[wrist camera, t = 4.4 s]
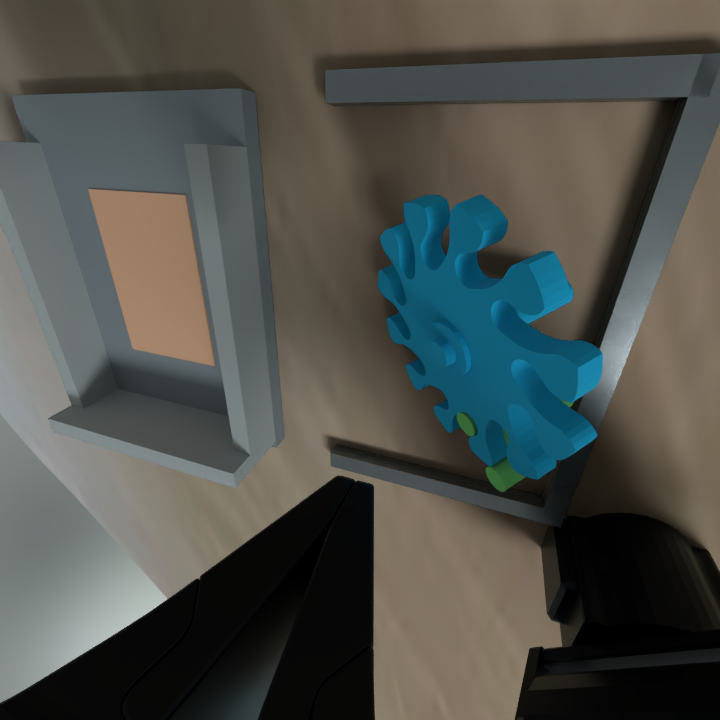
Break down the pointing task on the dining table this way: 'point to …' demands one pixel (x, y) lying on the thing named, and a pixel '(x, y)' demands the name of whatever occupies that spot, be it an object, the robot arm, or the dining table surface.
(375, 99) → the frame
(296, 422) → the dining table surface
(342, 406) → the dining table surface
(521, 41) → the dining table surface
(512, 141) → the dining table surface
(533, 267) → the gear
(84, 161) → the grey open tray
